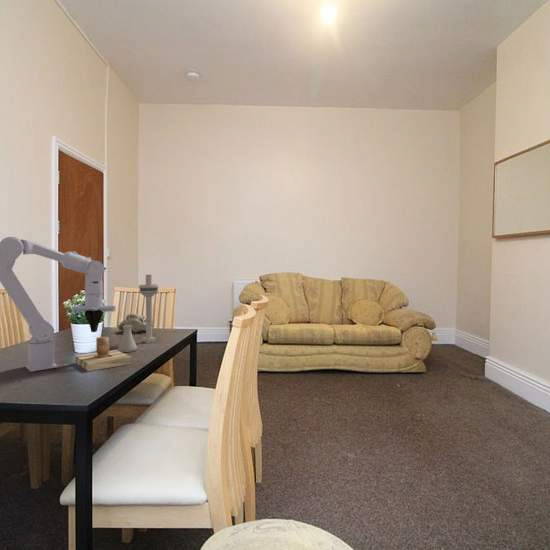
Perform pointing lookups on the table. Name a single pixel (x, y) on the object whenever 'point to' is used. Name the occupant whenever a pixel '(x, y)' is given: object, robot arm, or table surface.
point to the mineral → (134, 323)
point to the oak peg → (102, 347)
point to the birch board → (102, 360)
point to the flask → (127, 340)
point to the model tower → (148, 306)
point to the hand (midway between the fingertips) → (94, 331)
